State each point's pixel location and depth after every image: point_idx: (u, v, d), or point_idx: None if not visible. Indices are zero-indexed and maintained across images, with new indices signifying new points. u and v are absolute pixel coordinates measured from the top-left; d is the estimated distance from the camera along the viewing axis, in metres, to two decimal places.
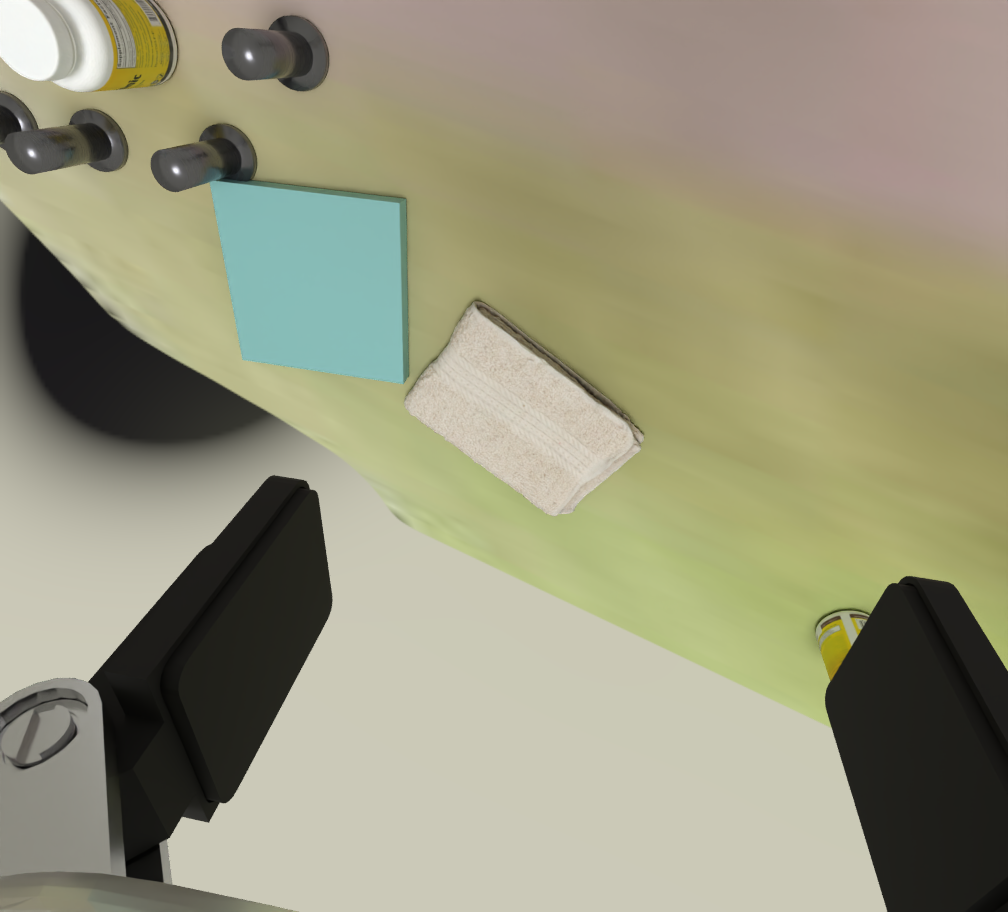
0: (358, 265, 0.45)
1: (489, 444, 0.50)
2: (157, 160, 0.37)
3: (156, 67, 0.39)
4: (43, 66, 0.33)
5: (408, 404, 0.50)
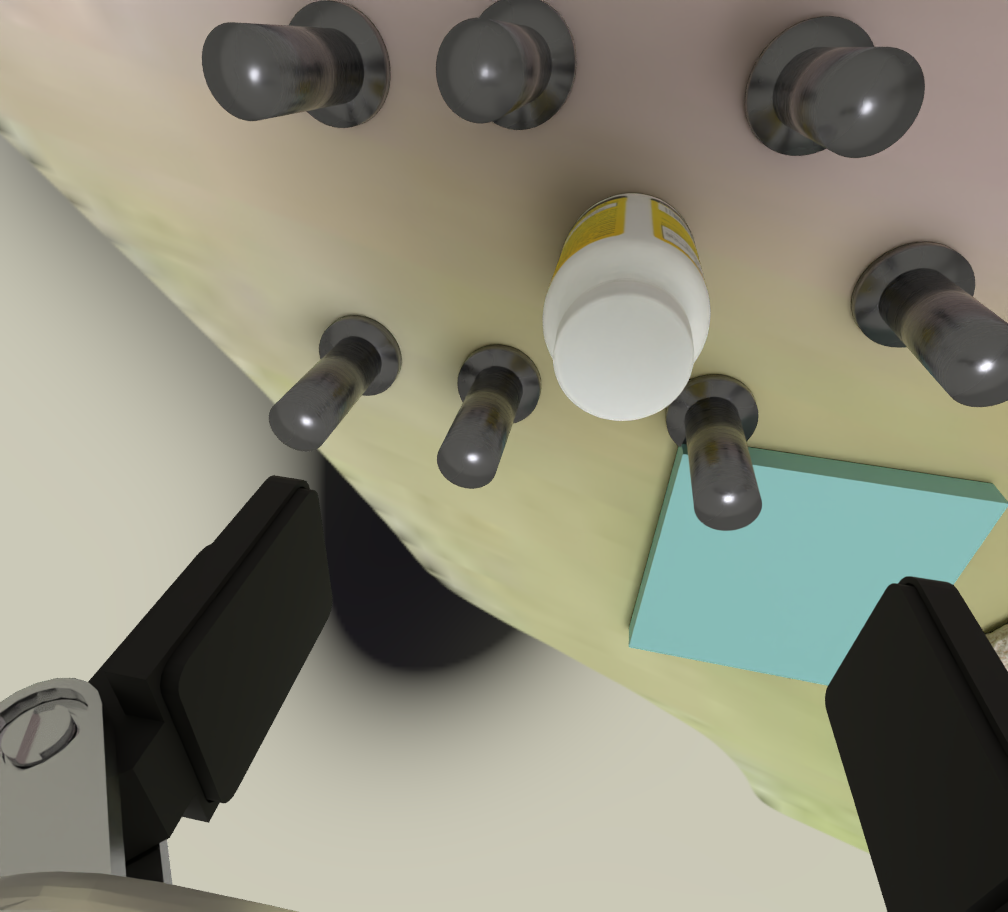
0: (885, 567, 0.29)
1: None
2: (714, 492, 0.22)
3: None
4: (641, 404, 0.18)
5: None
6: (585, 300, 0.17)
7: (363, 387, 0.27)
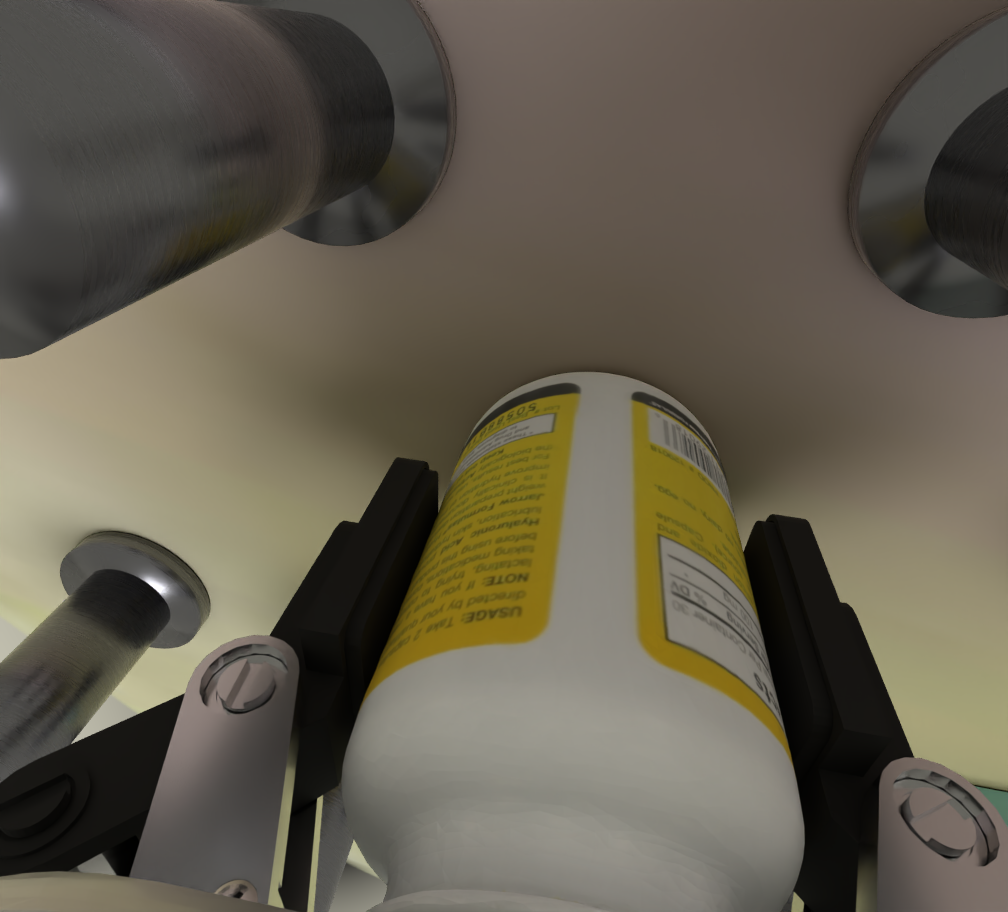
0: None
1: None
2: None
3: None
4: None
5: None
6: None
7: (111, 683, 0.15)
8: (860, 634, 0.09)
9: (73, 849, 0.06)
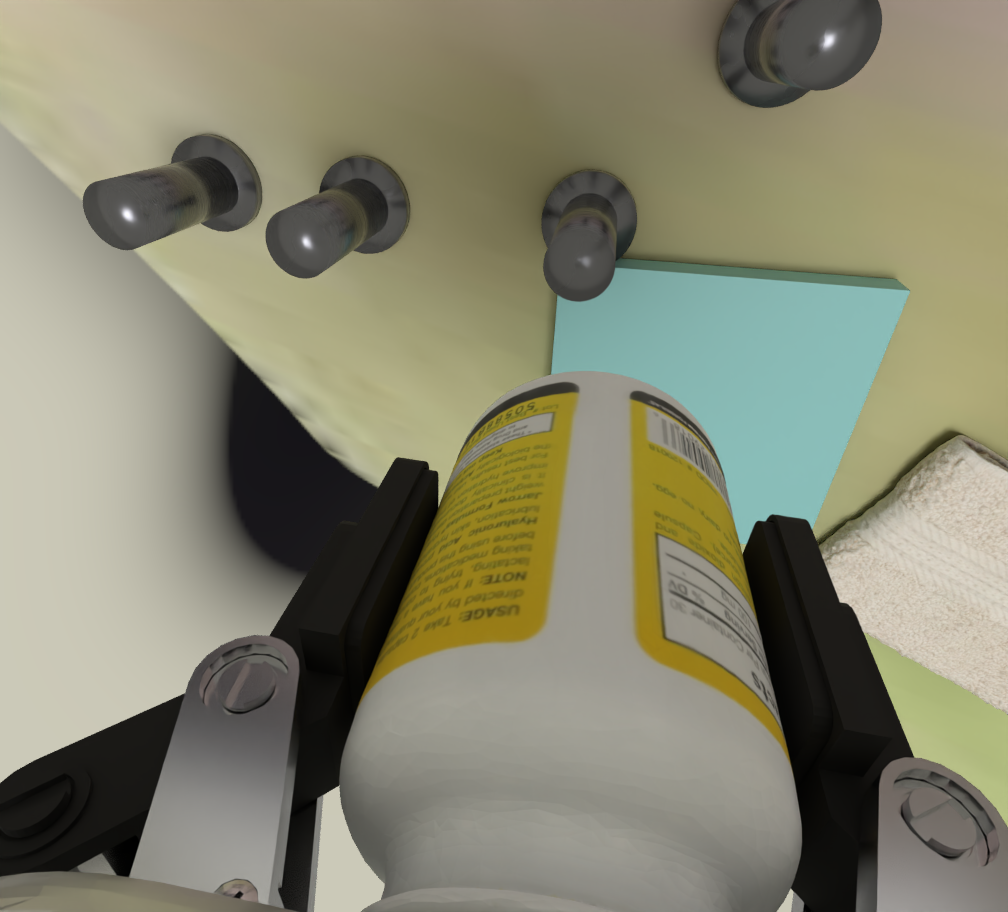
0: (790, 387, 0.27)
1: (943, 635, 0.32)
2: (561, 249, 0.20)
3: None
4: None
5: None
6: None
7: (208, 201, 0.25)
8: (860, 634, 0.09)
9: (74, 849, 0.06)
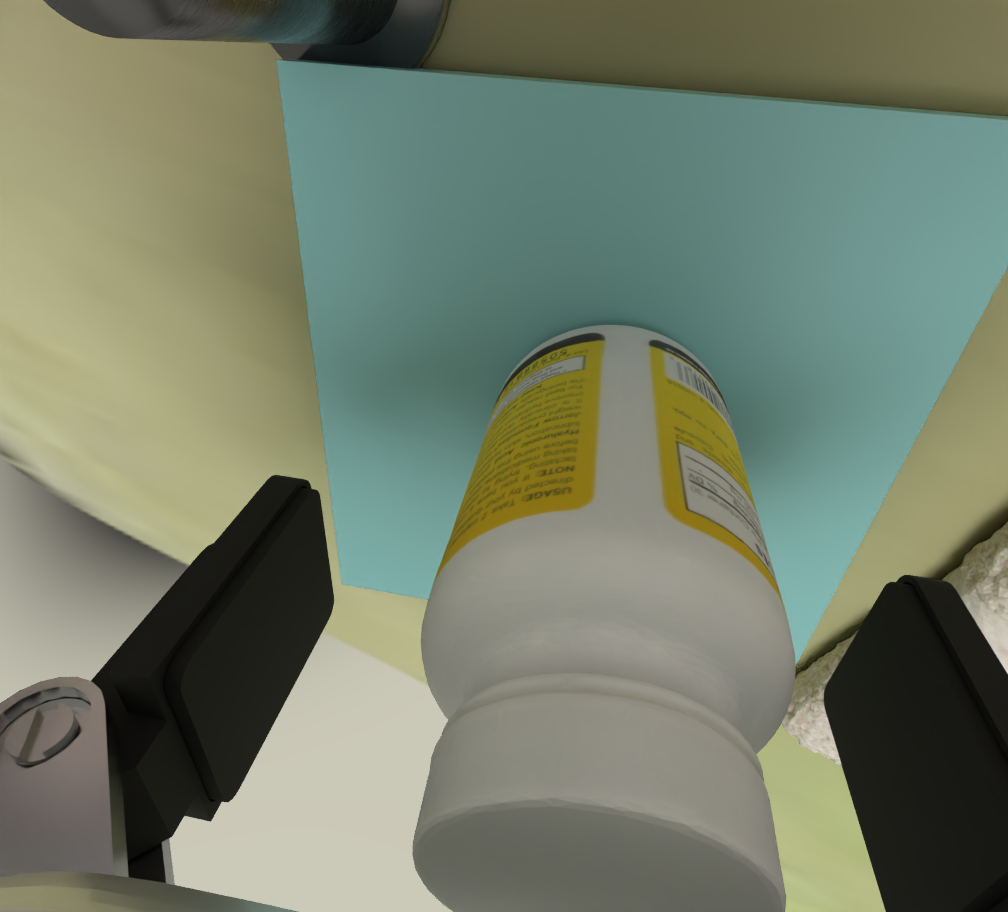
0: (784, 362, 0.13)
1: None
2: None
3: None
4: None
5: (803, 729, 0.19)
6: (485, 763, 0.06)
7: None
8: None
9: None
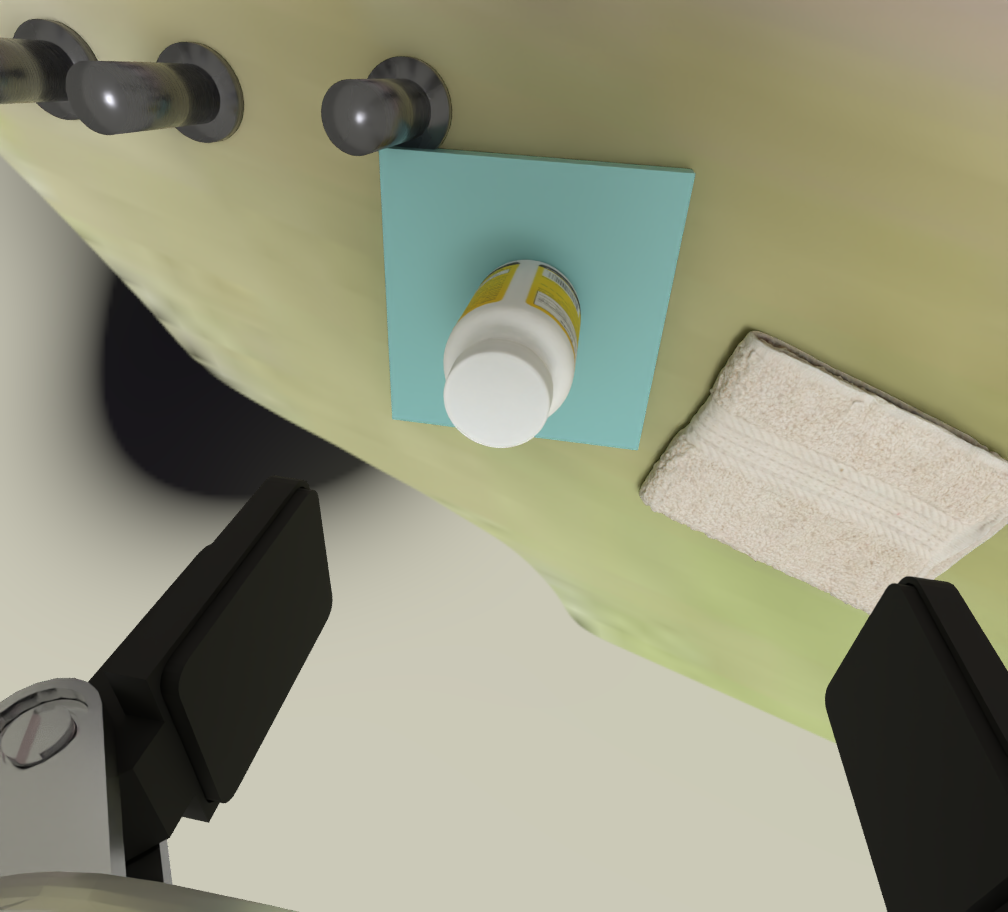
0: (603, 276, 0.29)
1: (783, 533, 0.34)
2: (335, 100, 0.21)
3: None
4: (514, 434, 0.23)
5: (650, 498, 0.35)
6: (464, 355, 0.22)
7: (38, 77, 0.26)
8: None
9: None
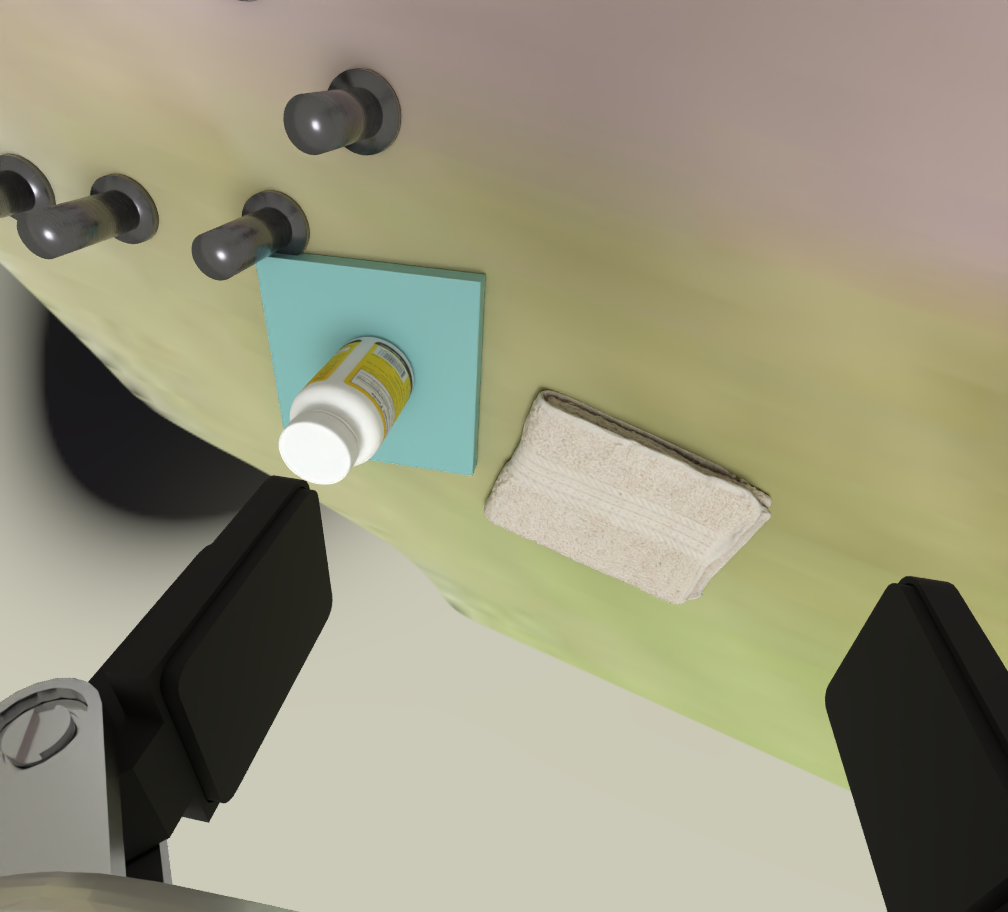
0: (427, 349, 0.38)
1: (589, 541, 0.44)
2: (200, 245, 0.31)
3: None
4: (330, 476, 0.32)
5: (489, 514, 0.45)
6: (290, 422, 0.31)
7: (2, 202, 0.36)
8: None
9: None
